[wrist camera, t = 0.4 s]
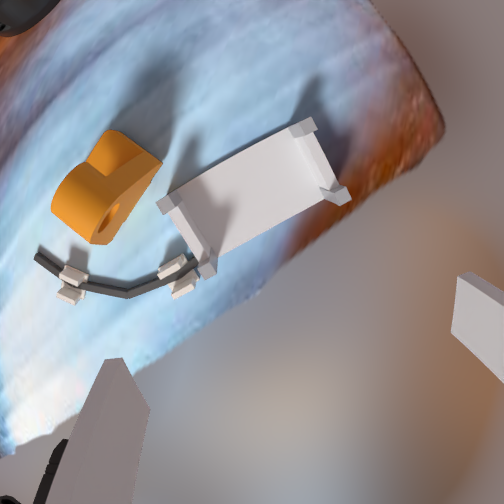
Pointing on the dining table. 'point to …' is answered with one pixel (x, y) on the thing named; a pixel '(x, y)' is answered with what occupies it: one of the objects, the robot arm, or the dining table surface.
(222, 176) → the holder
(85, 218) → the bracket
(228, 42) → the dining table surface
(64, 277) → the cable route
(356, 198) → the dining table surface
